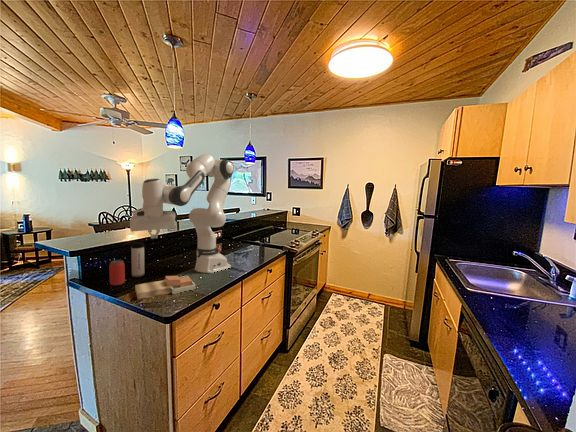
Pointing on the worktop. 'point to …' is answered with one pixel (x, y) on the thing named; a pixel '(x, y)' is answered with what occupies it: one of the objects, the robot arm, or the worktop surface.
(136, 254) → the travel mug
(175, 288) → the tray
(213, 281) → the worktop surface
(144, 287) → the bench
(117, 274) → the beer can
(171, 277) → the tile
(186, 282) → the tile
